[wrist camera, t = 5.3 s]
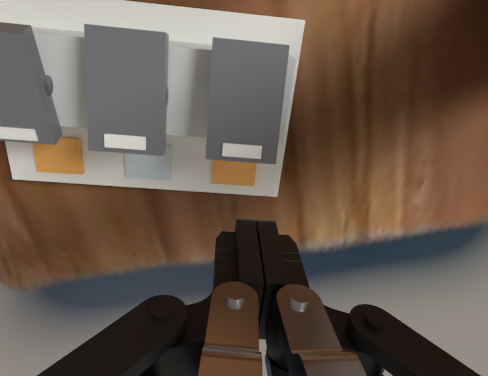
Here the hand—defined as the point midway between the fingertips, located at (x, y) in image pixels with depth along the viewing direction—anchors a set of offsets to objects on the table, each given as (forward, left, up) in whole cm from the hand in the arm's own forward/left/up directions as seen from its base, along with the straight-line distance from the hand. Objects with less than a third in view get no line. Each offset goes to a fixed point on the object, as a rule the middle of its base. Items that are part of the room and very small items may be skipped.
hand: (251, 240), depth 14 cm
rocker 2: (0, -3, -11) cm, 11 cm away
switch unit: (+7, -1, -18) cm, 19 cm away
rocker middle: (+7, -3, -11) cm, 13 cm away
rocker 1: (+14, -3, -11) cm, 18 cm away
